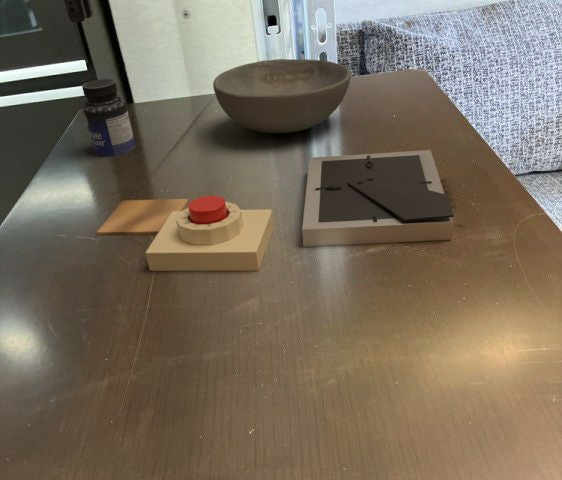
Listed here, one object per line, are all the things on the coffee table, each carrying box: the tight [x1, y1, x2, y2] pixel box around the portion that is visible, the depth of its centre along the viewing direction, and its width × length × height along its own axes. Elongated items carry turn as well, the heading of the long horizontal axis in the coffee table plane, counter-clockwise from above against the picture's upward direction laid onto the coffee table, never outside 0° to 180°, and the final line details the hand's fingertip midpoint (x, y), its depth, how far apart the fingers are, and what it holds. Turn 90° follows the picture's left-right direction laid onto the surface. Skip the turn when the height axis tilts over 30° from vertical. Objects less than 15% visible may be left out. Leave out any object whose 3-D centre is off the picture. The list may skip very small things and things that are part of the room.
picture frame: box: [301, 149, 455, 248], centre depth 74 cm, size 16×3×21 cm
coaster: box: [96, 198, 190, 236], centre depth 77 cm, size 9×9×1 cm
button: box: [187, 195, 228, 225], centre depth 67 cm, size 4×4×2 cm
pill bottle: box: [81, 78, 137, 158], centre depth 91 cm, size 6×6×11 cm
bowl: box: [212, 58, 352, 134], centre depth 97 cm, size 21×21×8 cm
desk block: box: [144, 201, 275, 272], centre depth 68 cm, size 12×10×4 cm
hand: (81, 19), depth 83 cm, fingers closed
